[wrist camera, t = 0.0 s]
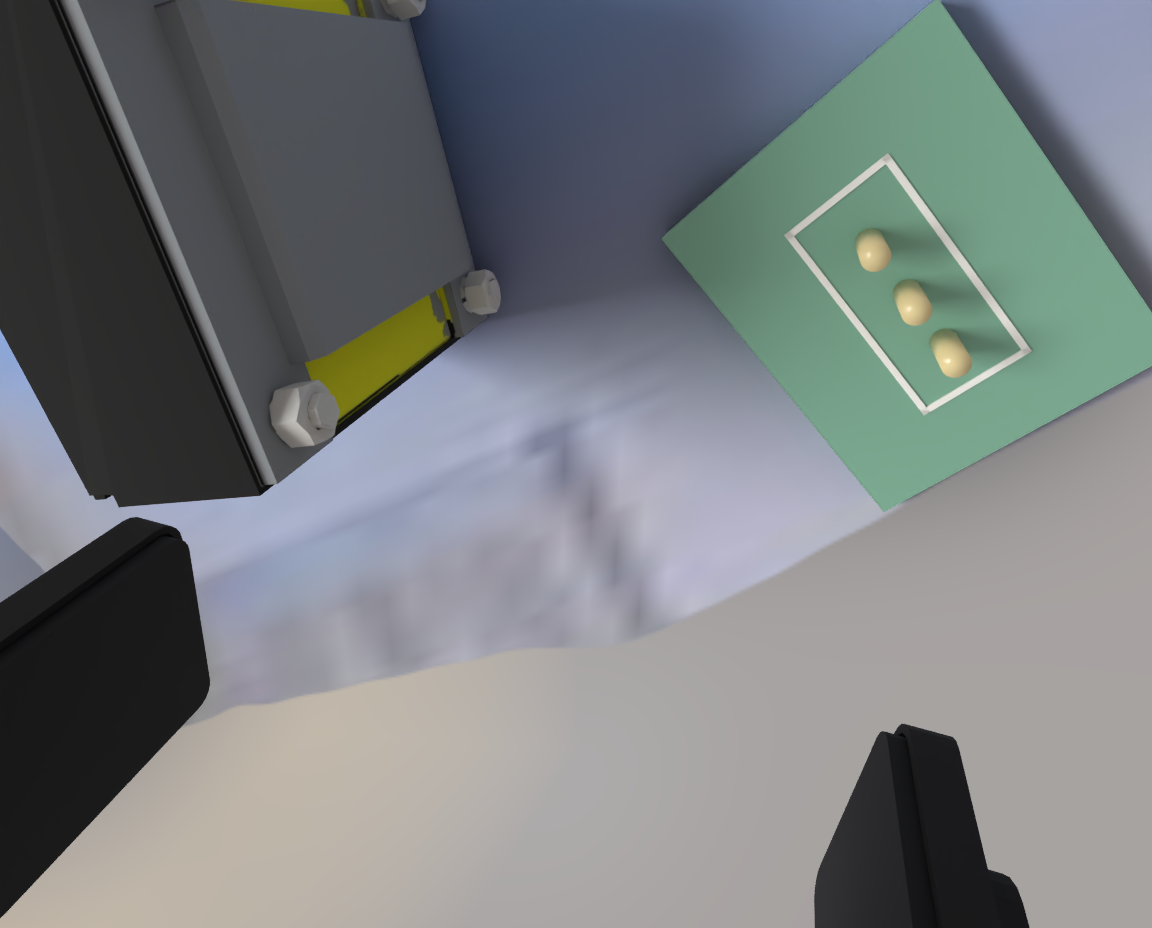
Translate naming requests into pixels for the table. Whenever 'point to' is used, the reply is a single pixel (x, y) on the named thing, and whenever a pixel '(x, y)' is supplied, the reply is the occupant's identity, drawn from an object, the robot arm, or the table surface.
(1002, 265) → the header board
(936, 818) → the robot arm
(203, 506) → the table surface
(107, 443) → the electrical component
